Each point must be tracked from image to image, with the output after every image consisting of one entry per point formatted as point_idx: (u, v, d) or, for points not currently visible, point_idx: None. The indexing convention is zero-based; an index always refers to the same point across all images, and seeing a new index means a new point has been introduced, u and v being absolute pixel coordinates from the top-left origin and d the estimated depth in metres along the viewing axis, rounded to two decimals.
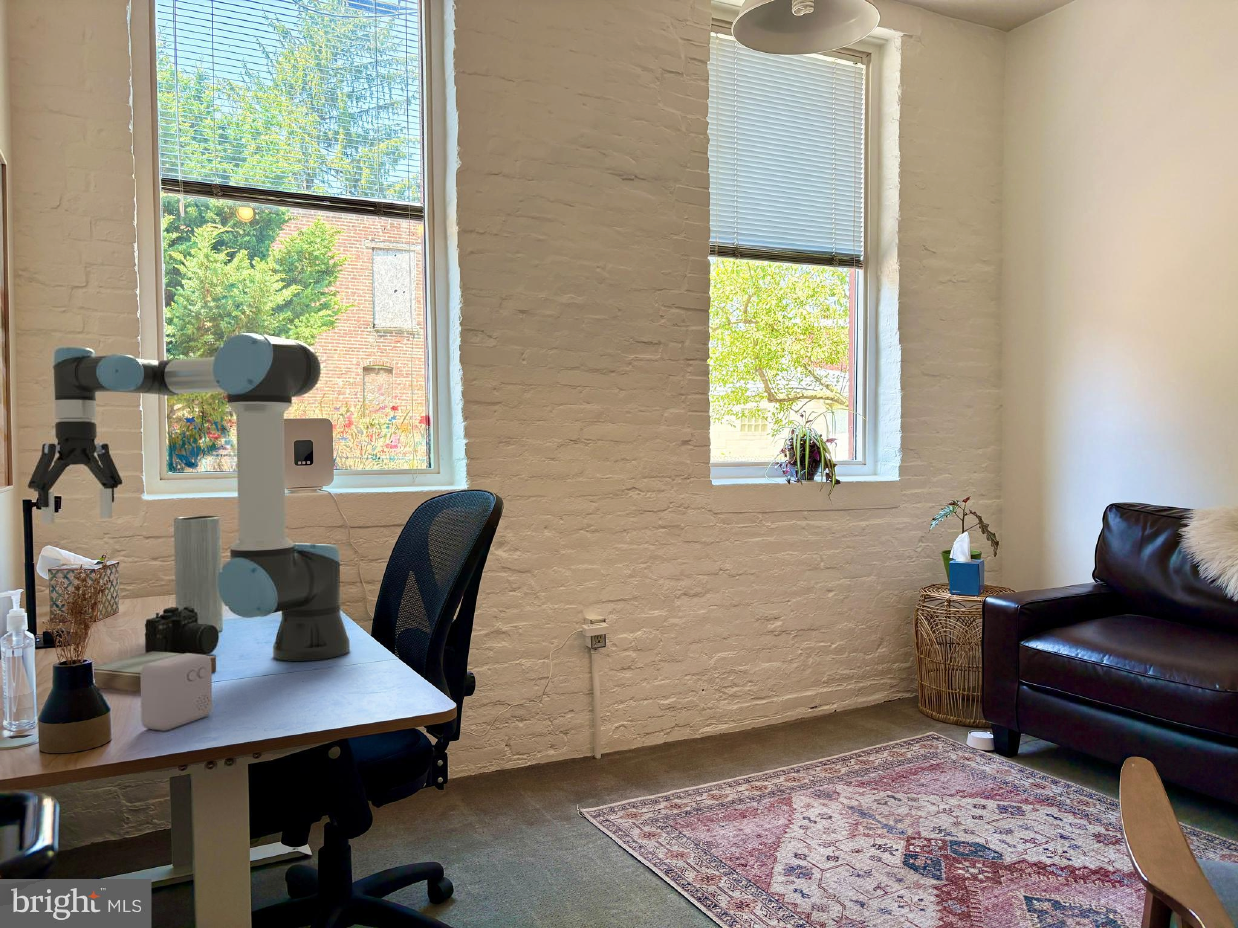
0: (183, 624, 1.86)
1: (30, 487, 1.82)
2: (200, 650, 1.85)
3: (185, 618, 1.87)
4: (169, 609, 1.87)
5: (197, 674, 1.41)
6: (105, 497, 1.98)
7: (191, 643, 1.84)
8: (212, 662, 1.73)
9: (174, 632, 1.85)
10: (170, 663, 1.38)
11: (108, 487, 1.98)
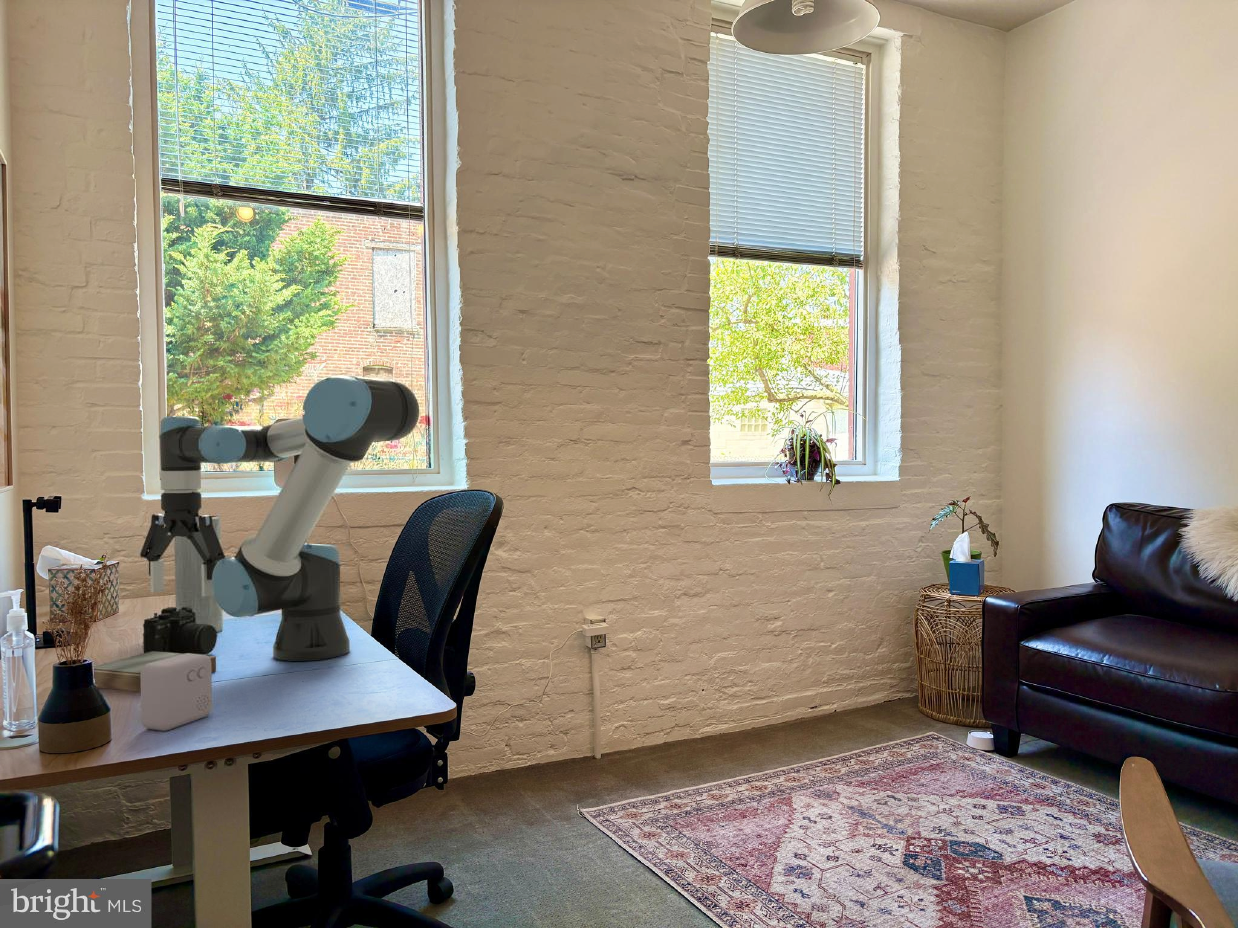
0: (181, 624, 1.86)
1: None
2: (198, 650, 1.85)
3: (183, 618, 1.87)
4: (167, 609, 1.87)
5: (197, 674, 1.41)
6: None
7: (190, 643, 1.84)
8: (212, 662, 1.73)
9: (172, 633, 1.85)
10: (170, 663, 1.38)
11: None
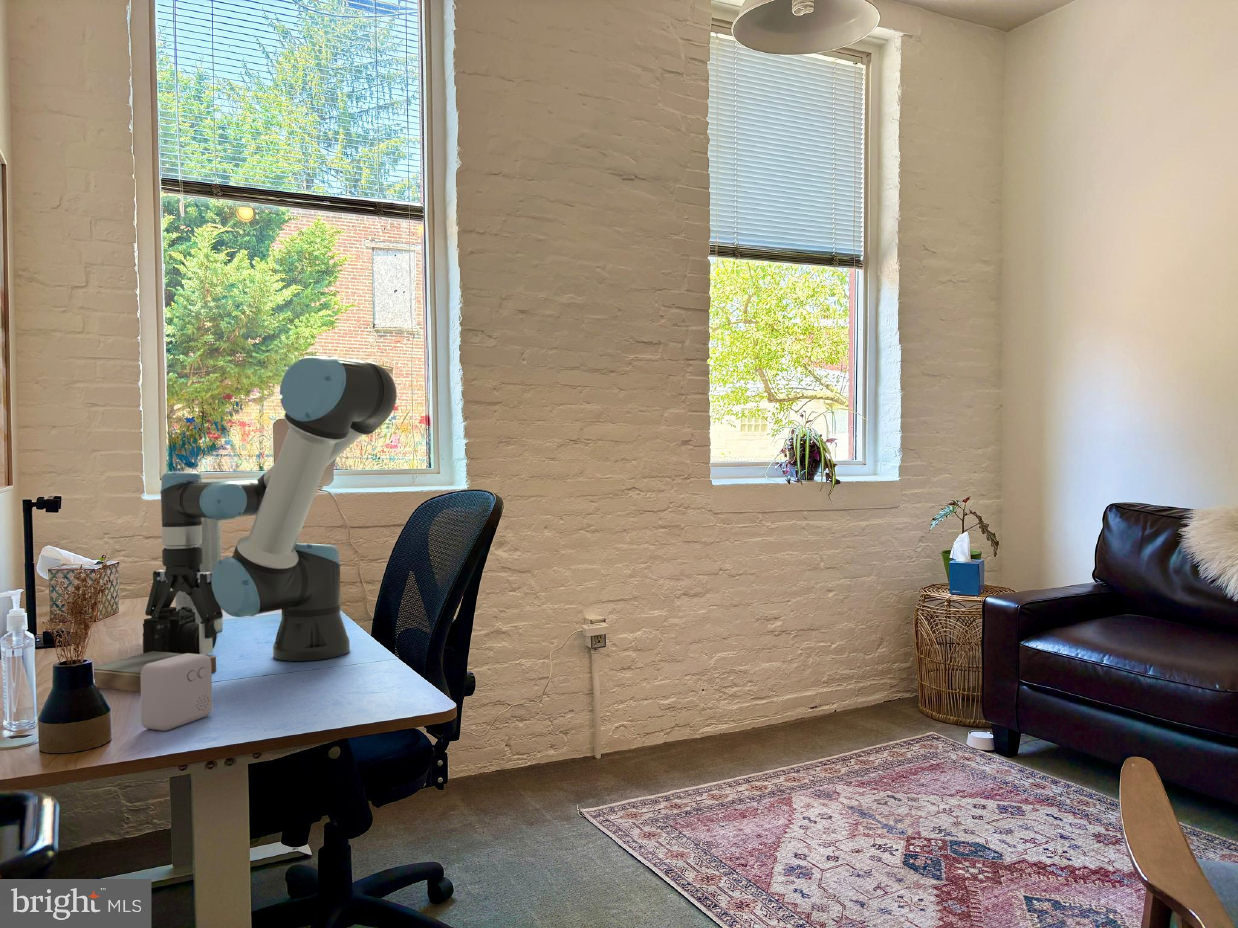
0: (181, 624, 1.86)
1: None
2: (198, 650, 1.84)
3: (182, 618, 1.86)
4: (167, 609, 1.87)
5: (197, 674, 1.41)
6: None
7: (189, 643, 1.84)
8: (212, 662, 1.73)
9: (172, 632, 1.85)
10: (170, 663, 1.38)
11: None
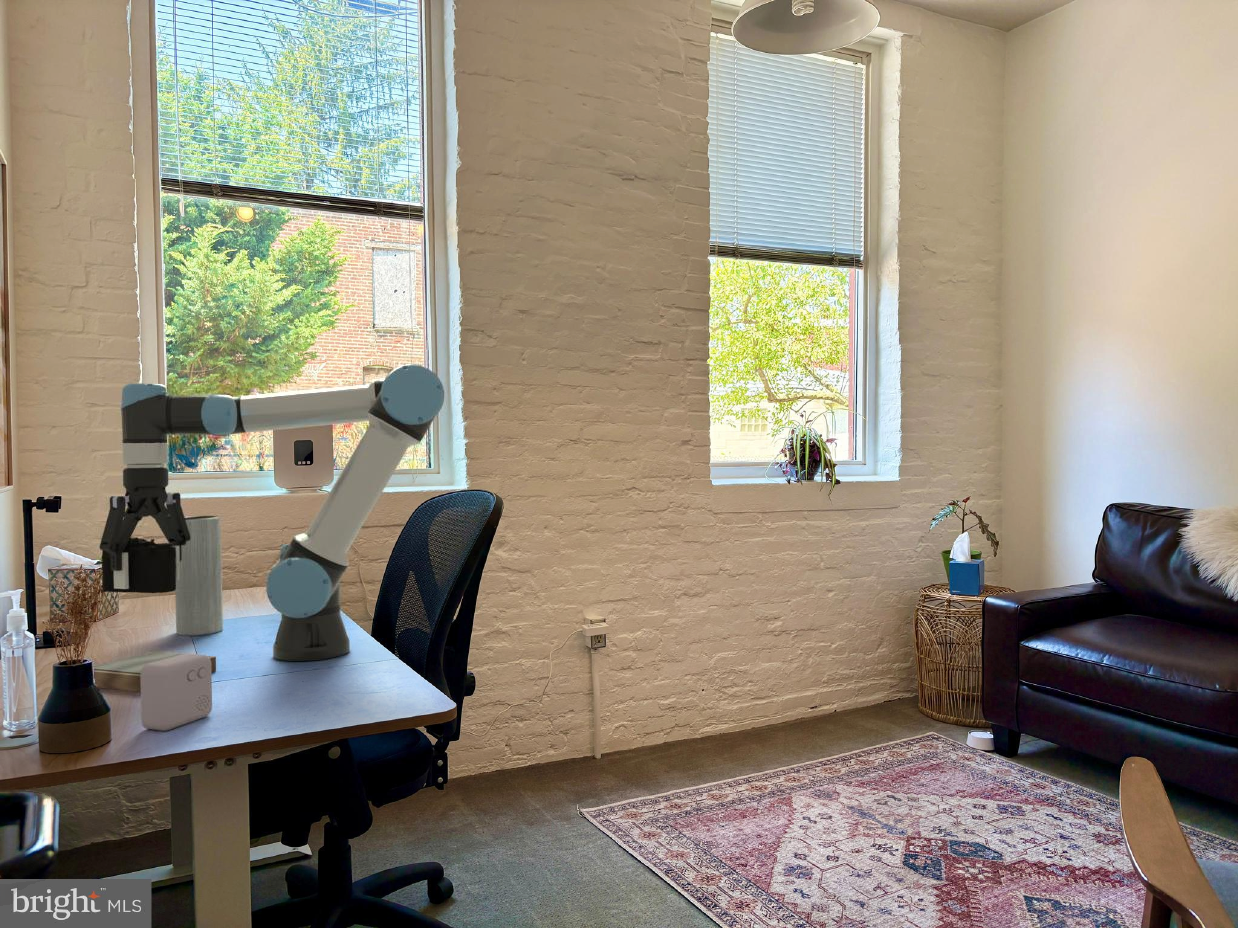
0: None
1: (102, 548, 1.60)
2: None
3: None
4: (135, 538, 1.65)
5: (197, 674, 1.41)
6: None
7: None
8: (212, 662, 1.73)
9: None
10: (170, 663, 1.38)
11: (175, 544, 1.74)
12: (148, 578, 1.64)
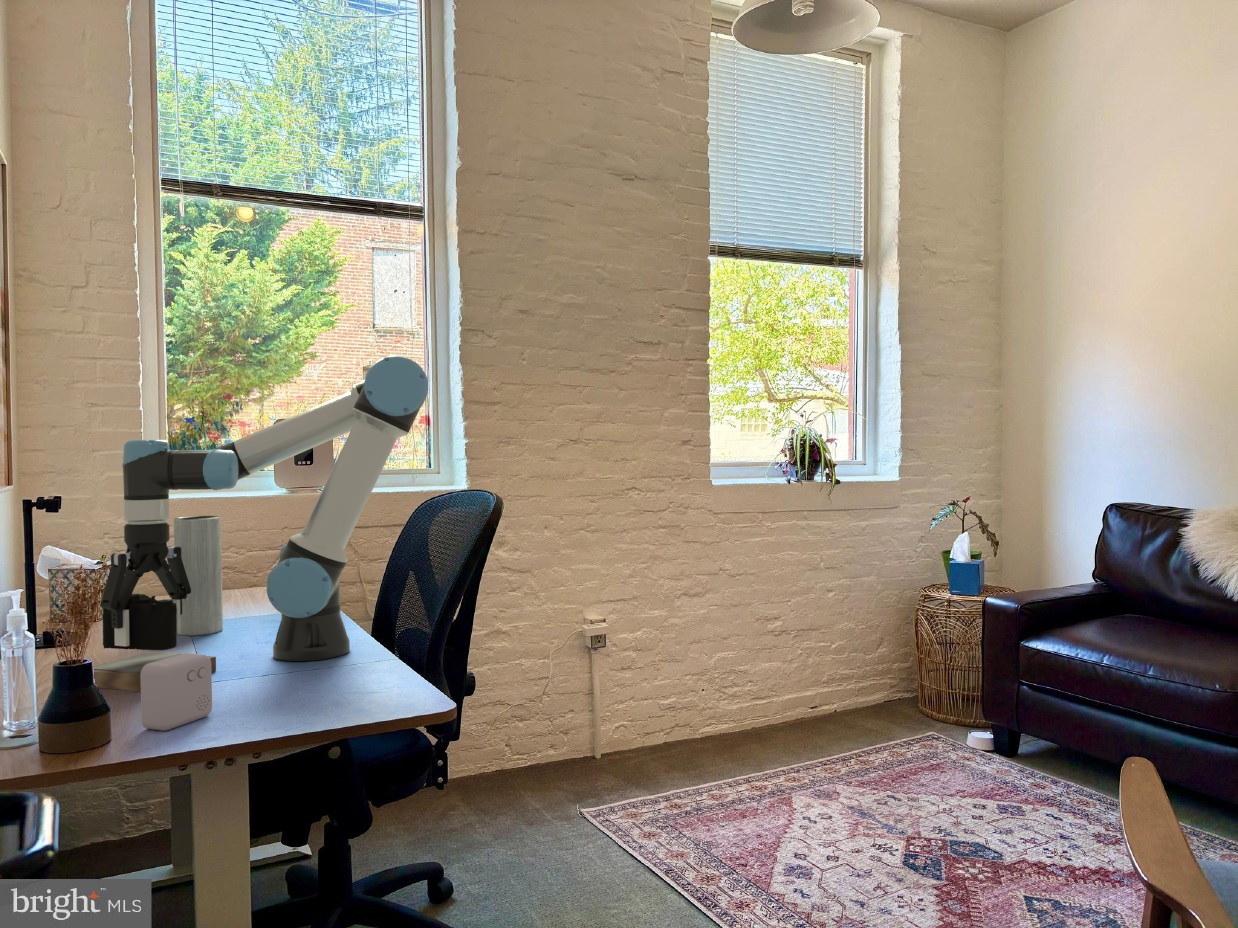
0: None
1: (103, 606, 1.61)
2: None
3: None
4: (136, 595, 1.65)
5: (197, 674, 1.41)
6: None
7: None
8: (212, 662, 1.73)
9: None
10: (170, 663, 1.38)
11: (176, 597, 1.74)
12: (149, 635, 1.64)
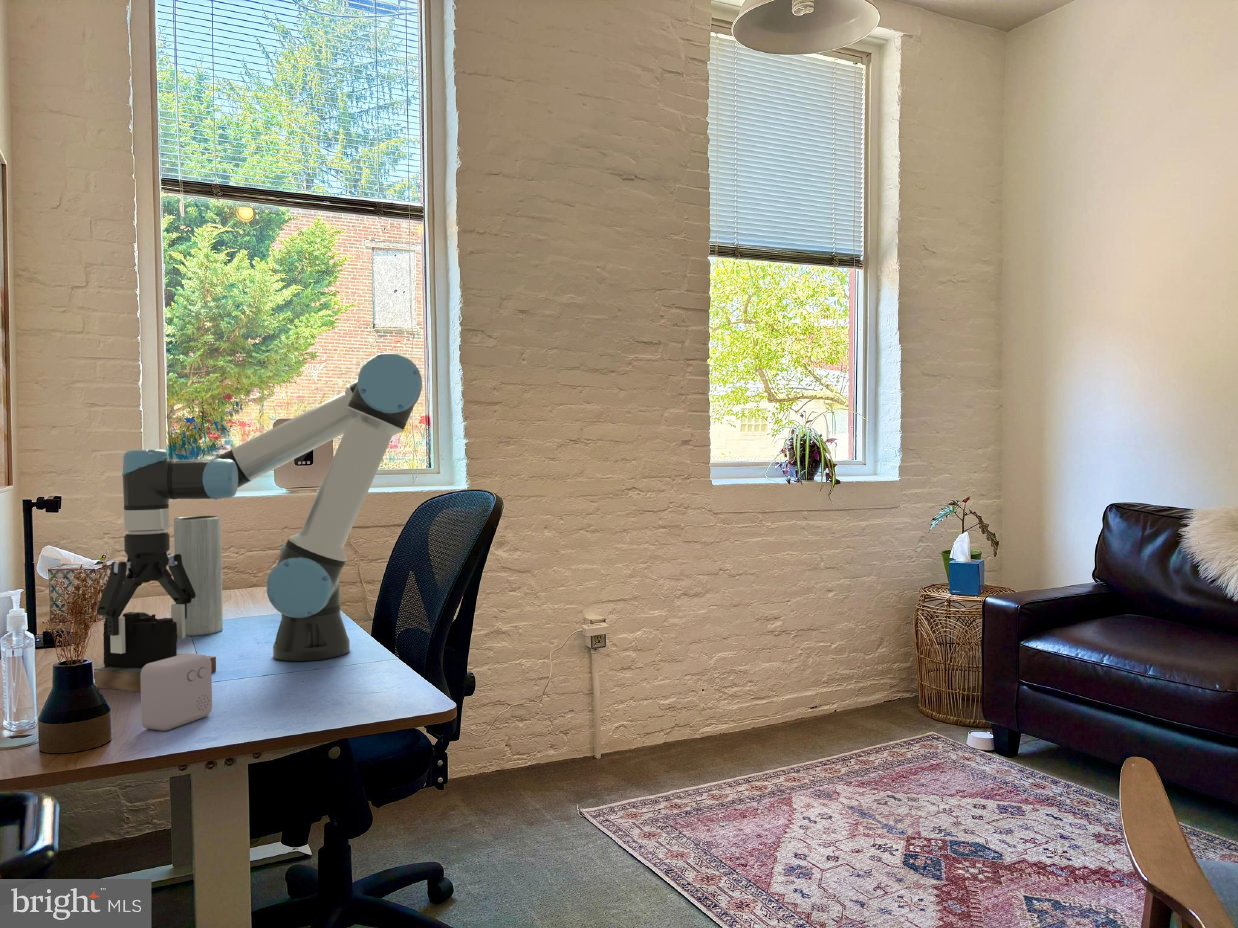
0: None
1: (98, 613, 1.60)
2: None
3: None
4: (136, 613, 1.65)
5: (197, 674, 1.41)
6: (177, 614, 1.75)
7: None
8: (212, 662, 1.73)
9: None
10: (170, 663, 1.38)
11: (180, 602, 1.75)
12: (149, 654, 1.64)
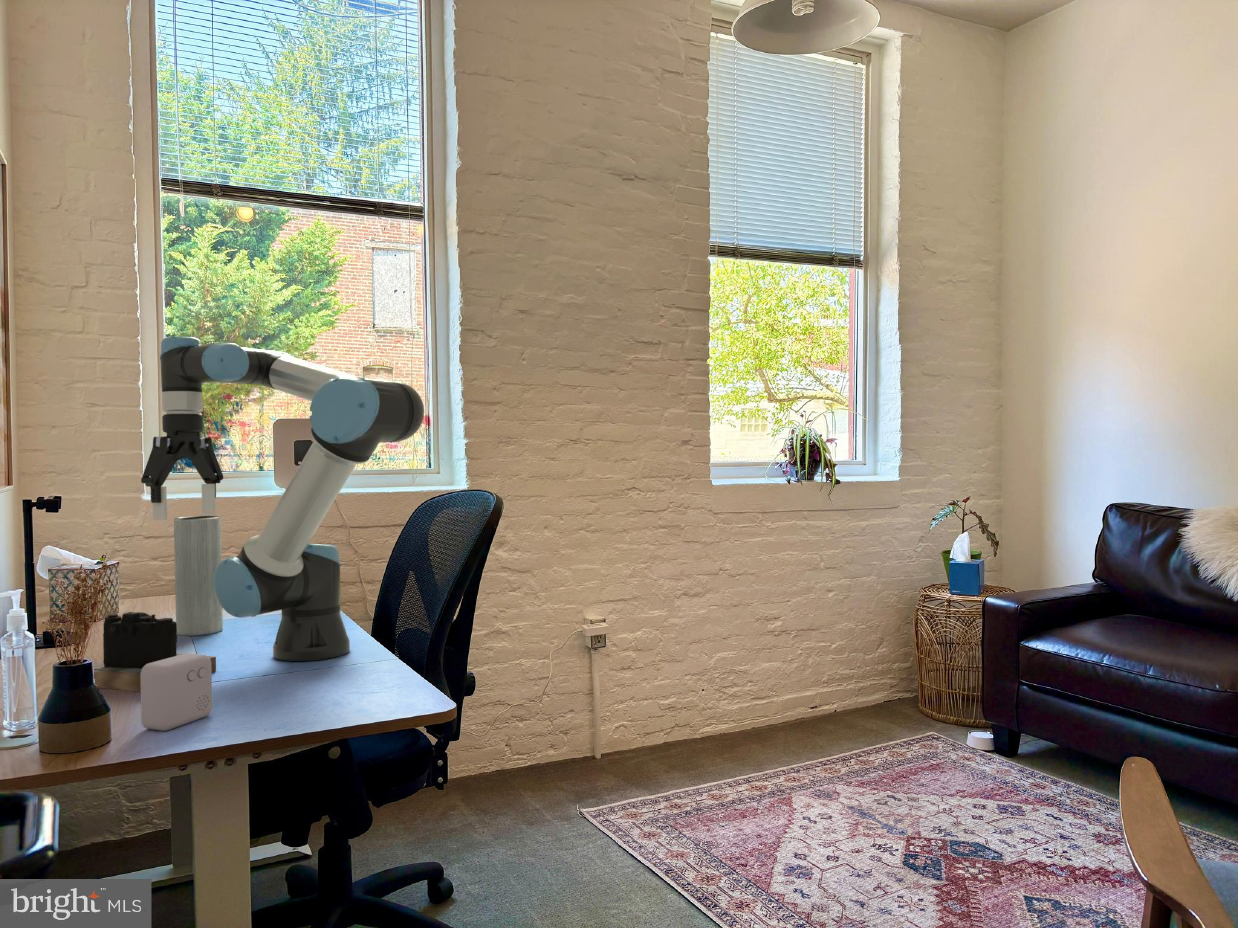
0: None
1: (143, 482, 1.75)
2: None
3: None
4: (136, 613, 1.65)
5: (197, 674, 1.41)
6: (208, 493, 1.91)
7: None
8: (212, 662, 1.73)
9: None
10: (170, 663, 1.38)
11: (210, 482, 1.91)
12: (149, 654, 1.64)
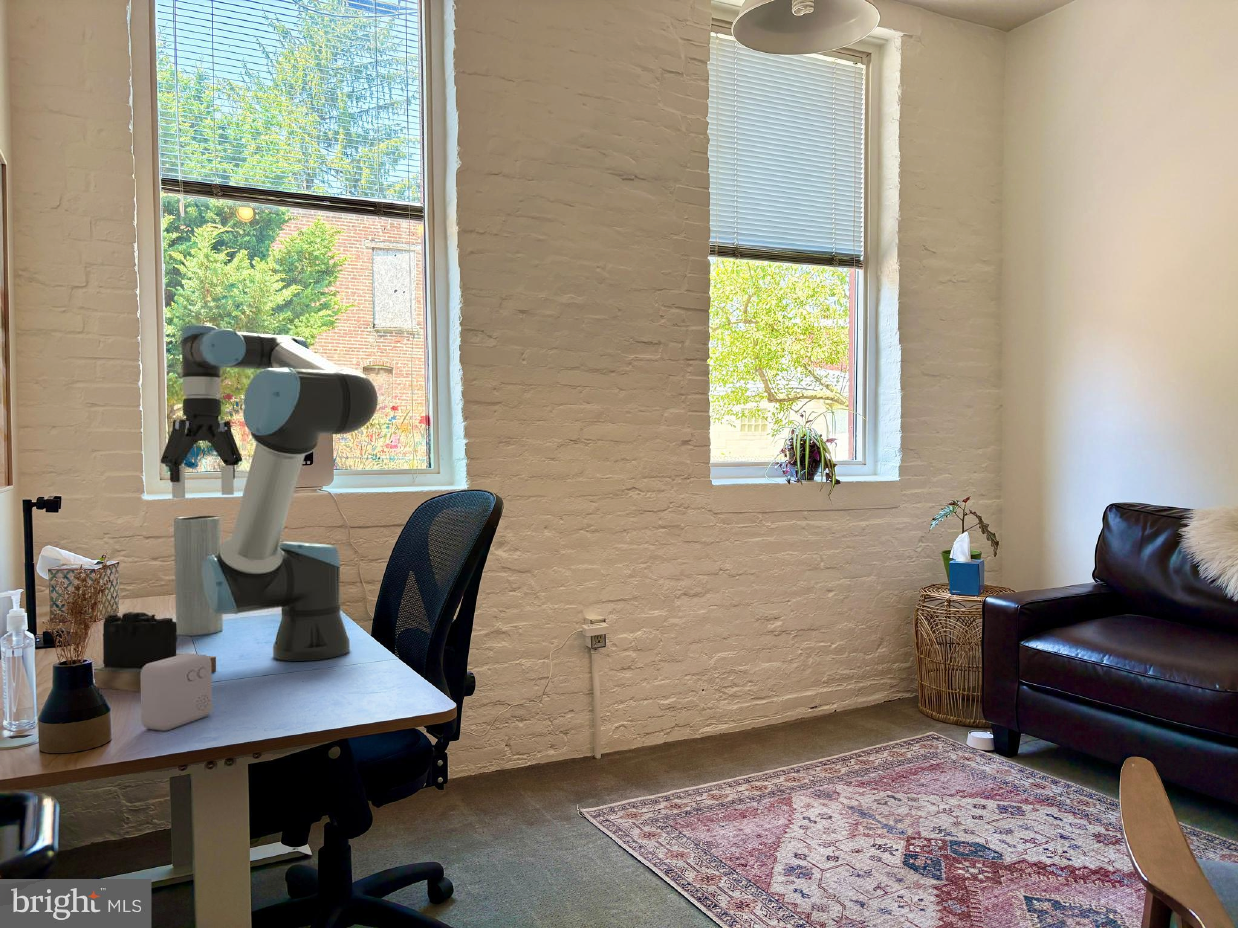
0: None
1: (163, 462, 1.85)
2: None
3: None
4: (136, 613, 1.65)
5: (197, 674, 1.41)
6: (227, 474, 2.00)
7: None
8: (212, 662, 1.73)
9: None
10: (170, 663, 1.38)
11: (229, 464, 2.01)
12: (149, 654, 1.63)
